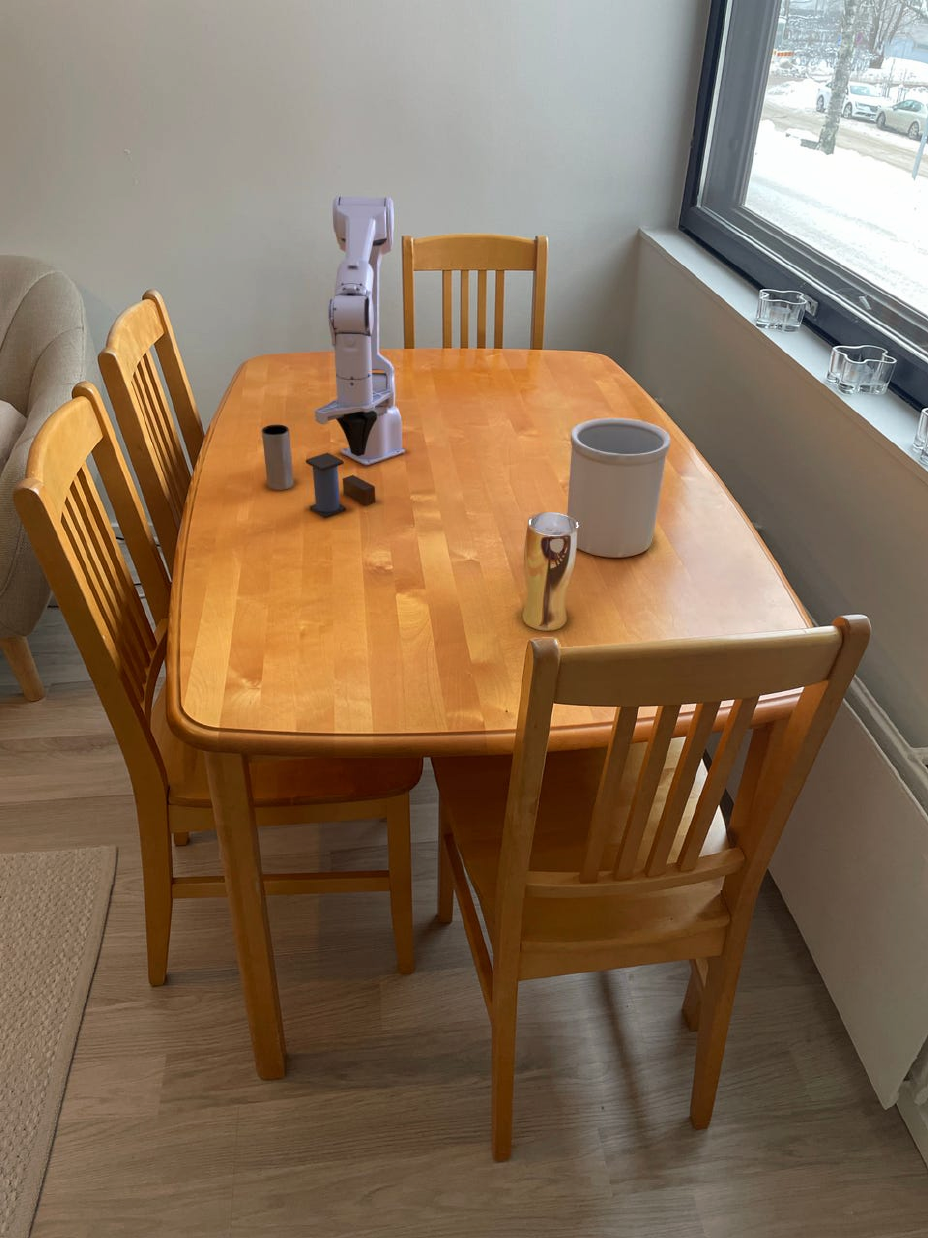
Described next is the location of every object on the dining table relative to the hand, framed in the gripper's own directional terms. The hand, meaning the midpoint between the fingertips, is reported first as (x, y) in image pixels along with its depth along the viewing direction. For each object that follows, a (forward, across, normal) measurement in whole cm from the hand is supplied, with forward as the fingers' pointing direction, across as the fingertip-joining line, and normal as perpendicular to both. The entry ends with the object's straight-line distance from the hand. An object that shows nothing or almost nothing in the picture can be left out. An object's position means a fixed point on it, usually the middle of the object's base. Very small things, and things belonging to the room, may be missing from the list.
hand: (357, 453), depth 152 cm
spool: (+4, -7, 0) cm, 8 cm away
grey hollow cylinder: (+8, -7, +13) cm, 17 cm away
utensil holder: (+8, +22, -37) cm, 44 cm away
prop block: (+8, 0, 0) cm, 8 cm away
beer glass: (+8, -4, -46) cm, 47 cm away
